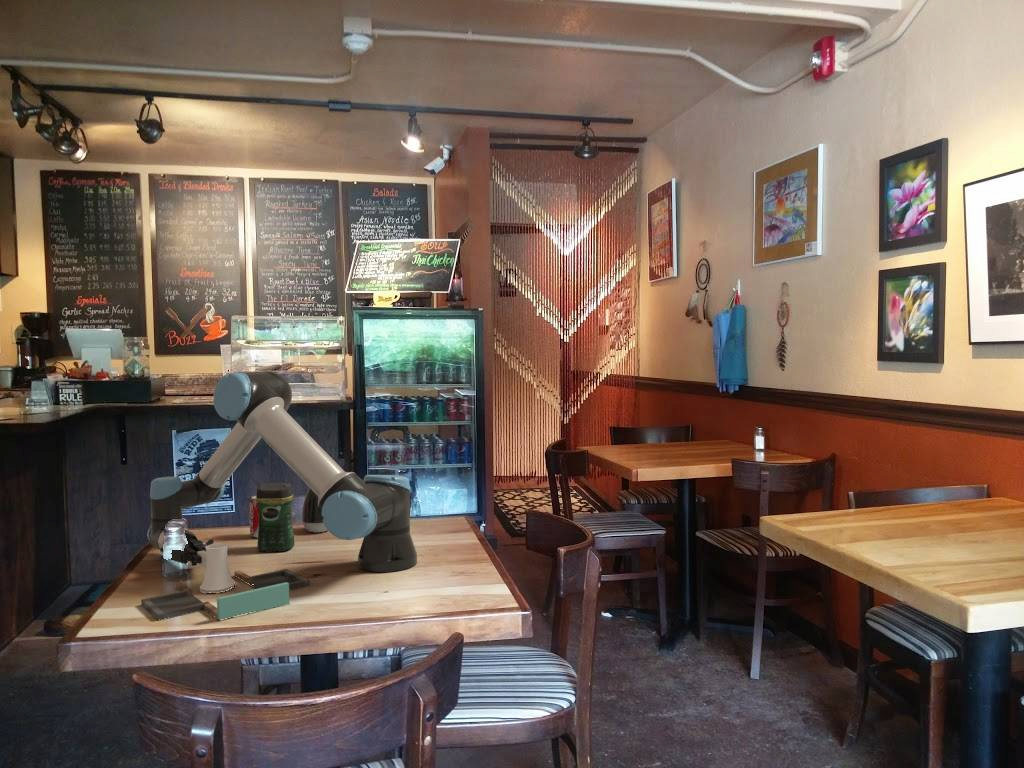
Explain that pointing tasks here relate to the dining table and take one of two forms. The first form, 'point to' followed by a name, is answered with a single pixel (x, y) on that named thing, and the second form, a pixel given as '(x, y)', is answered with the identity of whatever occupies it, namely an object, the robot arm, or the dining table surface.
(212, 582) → the vase
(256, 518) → the soda can
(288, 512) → the coffee jar
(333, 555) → the dining table surface
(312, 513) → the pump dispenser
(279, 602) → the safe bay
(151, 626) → the dining table surface
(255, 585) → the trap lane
